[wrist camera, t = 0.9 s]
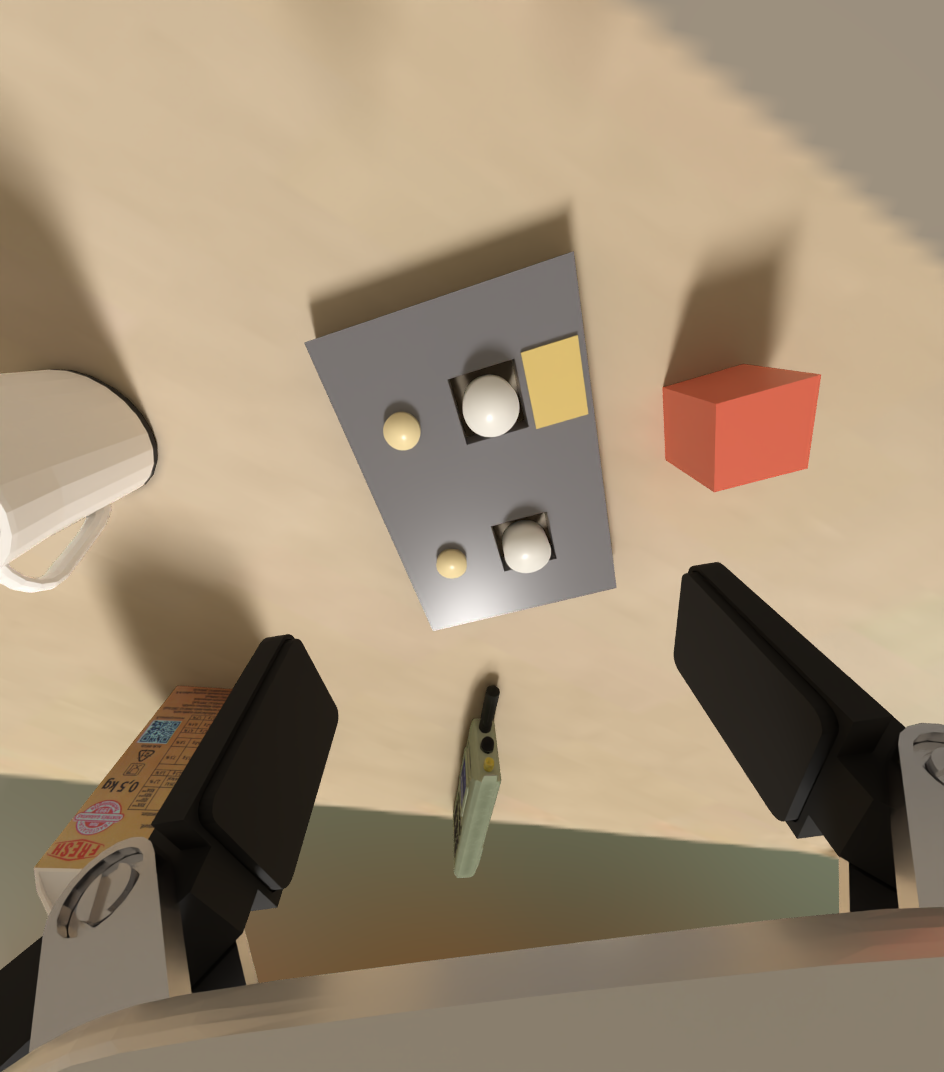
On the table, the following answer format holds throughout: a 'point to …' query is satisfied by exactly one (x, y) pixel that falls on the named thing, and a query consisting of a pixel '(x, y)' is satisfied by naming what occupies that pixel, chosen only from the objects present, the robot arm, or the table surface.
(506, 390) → the cream egg in tray
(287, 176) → the table surface
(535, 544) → the white egg
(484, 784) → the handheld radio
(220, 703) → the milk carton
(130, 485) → the mug
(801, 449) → the cap
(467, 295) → the panel
